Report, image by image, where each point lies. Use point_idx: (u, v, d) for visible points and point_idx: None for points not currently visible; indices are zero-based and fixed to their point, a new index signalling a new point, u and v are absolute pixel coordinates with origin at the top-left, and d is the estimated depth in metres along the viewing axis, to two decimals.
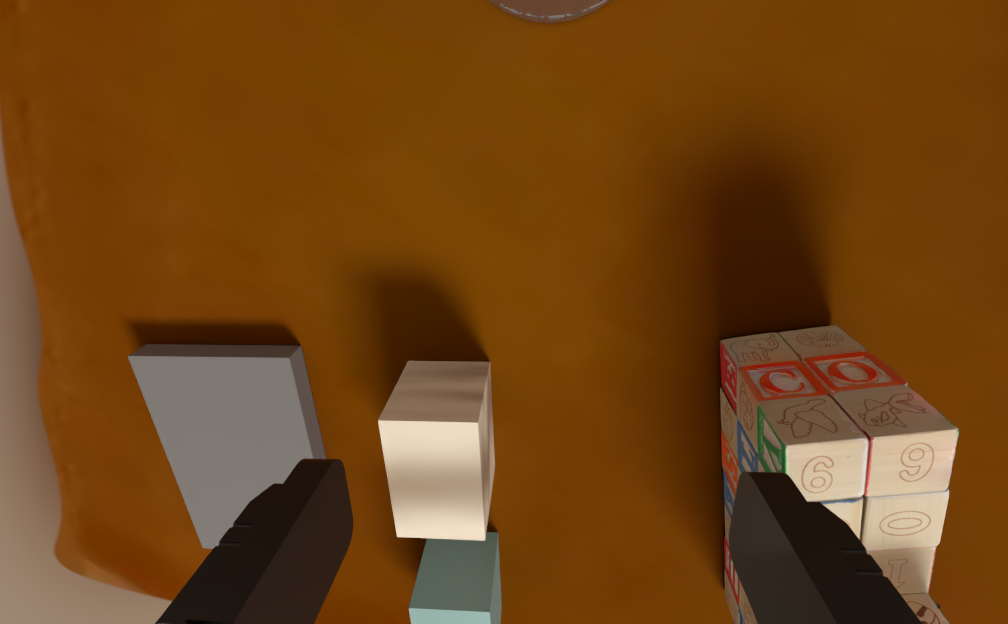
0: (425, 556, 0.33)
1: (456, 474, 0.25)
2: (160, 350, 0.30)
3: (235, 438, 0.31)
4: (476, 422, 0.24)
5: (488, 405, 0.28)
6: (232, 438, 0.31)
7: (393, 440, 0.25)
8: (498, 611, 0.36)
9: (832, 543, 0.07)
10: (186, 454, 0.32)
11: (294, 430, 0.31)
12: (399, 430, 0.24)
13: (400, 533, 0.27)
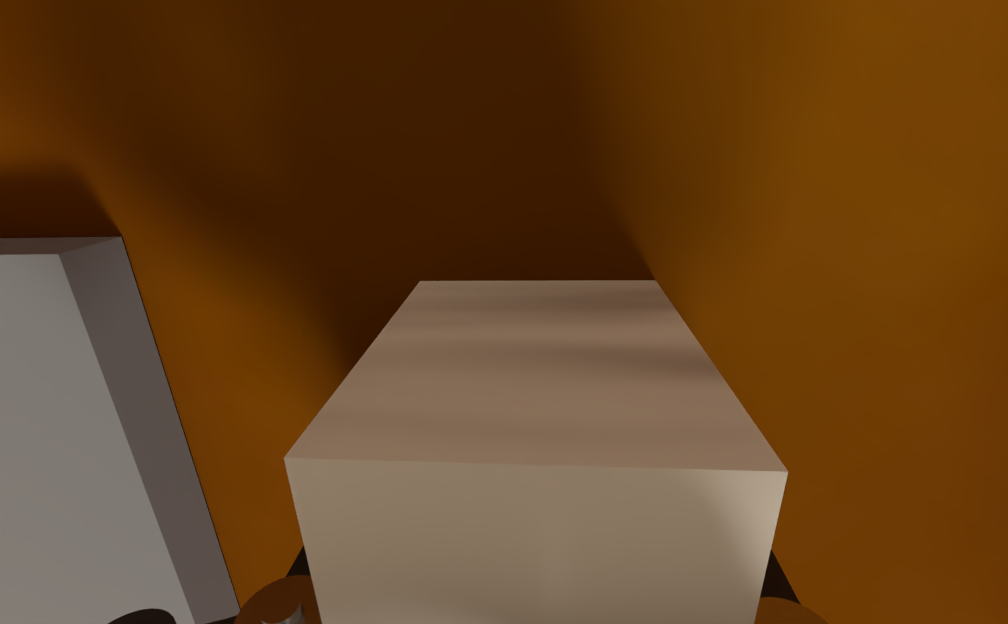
0: None
1: None
2: None
3: None
4: (778, 470, 0.05)
5: None
6: None
7: (359, 550, 0.05)
8: None
9: None
10: None
11: (107, 473, 0.11)
12: (384, 504, 0.05)
13: None
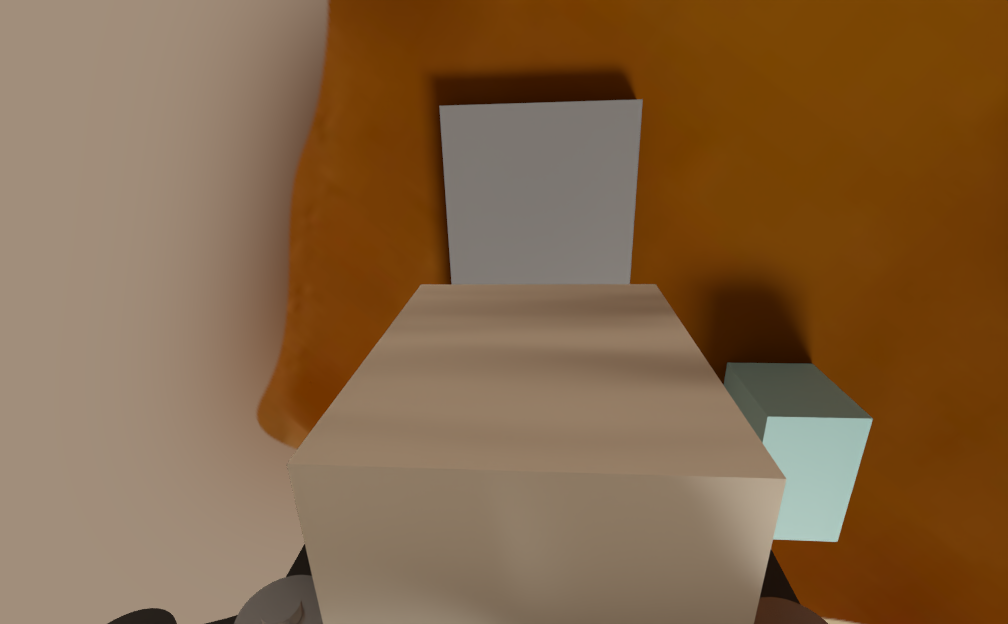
0: (744, 380, 0.28)
1: None
2: None
3: (542, 222, 0.26)
4: (777, 478, 0.05)
5: None
6: (538, 222, 0.26)
7: (362, 555, 0.06)
8: None
9: None
10: (474, 248, 0.27)
11: (620, 206, 0.26)
12: (385, 509, 0.05)
13: None
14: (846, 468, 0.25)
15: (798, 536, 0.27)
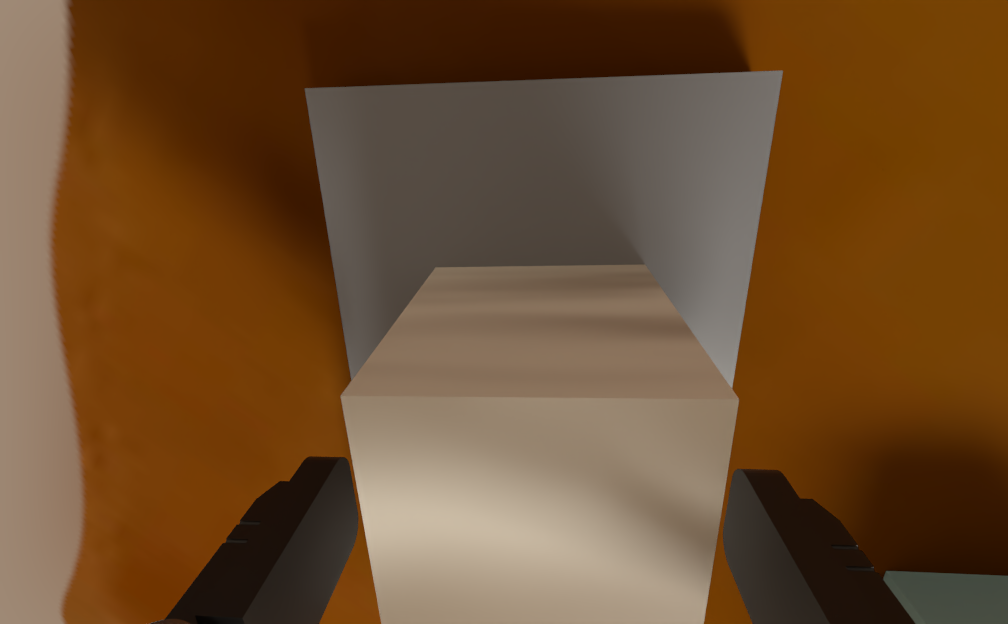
0: None
1: (619, 594, 0.07)
2: None
3: None
4: (731, 399, 0.06)
5: None
6: None
7: (399, 473, 0.07)
8: None
9: (823, 539, 0.07)
10: None
11: (711, 309, 0.12)
12: (420, 434, 0.07)
13: None
14: None
15: None
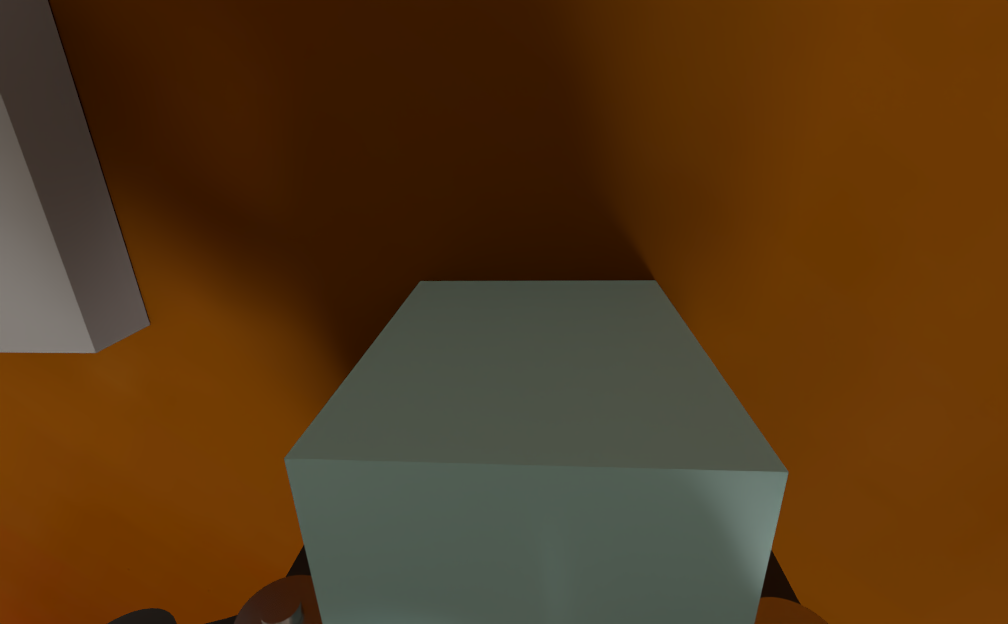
0: (401, 322, 0.08)
1: None
2: None
3: None
4: None
5: None
6: None
7: None
8: None
9: None
10: None
11: None
12: None
13: None
14: None
15: None
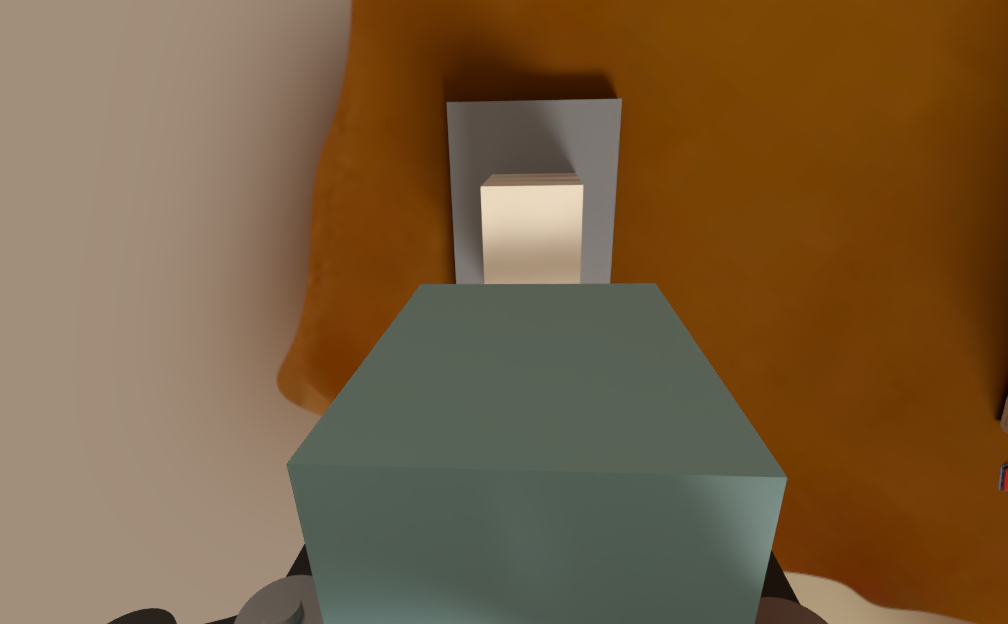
0: (402, 326, 0.09)
1: (556, 252, 0.25)
2: None
3: None
4: (581, 185, 0.24)
5: None
6: None
7: (494, 211, 0.24)
8: None
9: None
10: (475, 228, 0.31)
11: (602, 192, 0.30)
12: (501, 198, 0.24)
13: None
14: None
15: None
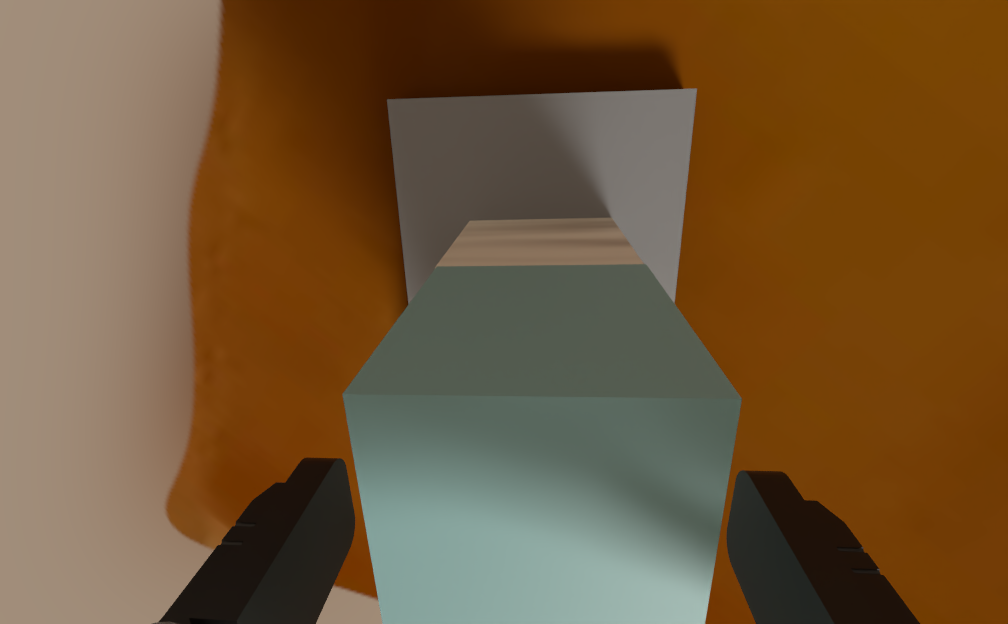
0: (424, 298, 0.10)
1: None
2: None
3: None
4: None
5: None
6: None
7: None
8: None
9: (828, 541, 0.07)
10: None
11: (657, 249, 0.17)
12: None
13: None
14: (669, 579, 0.07)
15: None
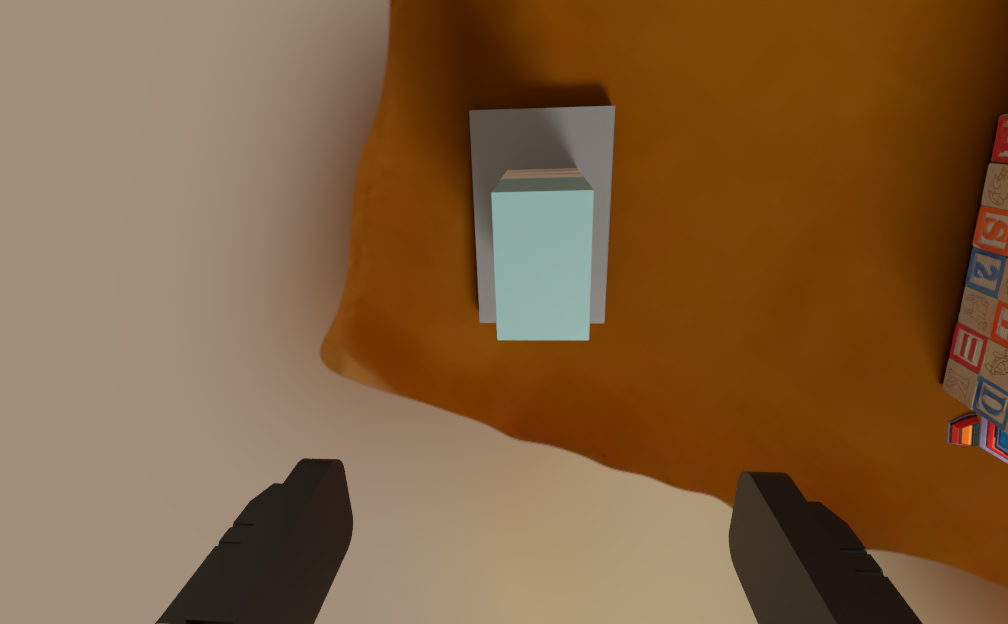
0: (501, 183, 0.28)
1: None
2: None
3: None
4: None
5: None
6: None
7: None
8: None
9: (832, 543, 0.07)
10: None
11: (600, 183, 0.35)
12: None
13: None
14: (579, 251, 0.25)
15: (549, 335, 0.27)
